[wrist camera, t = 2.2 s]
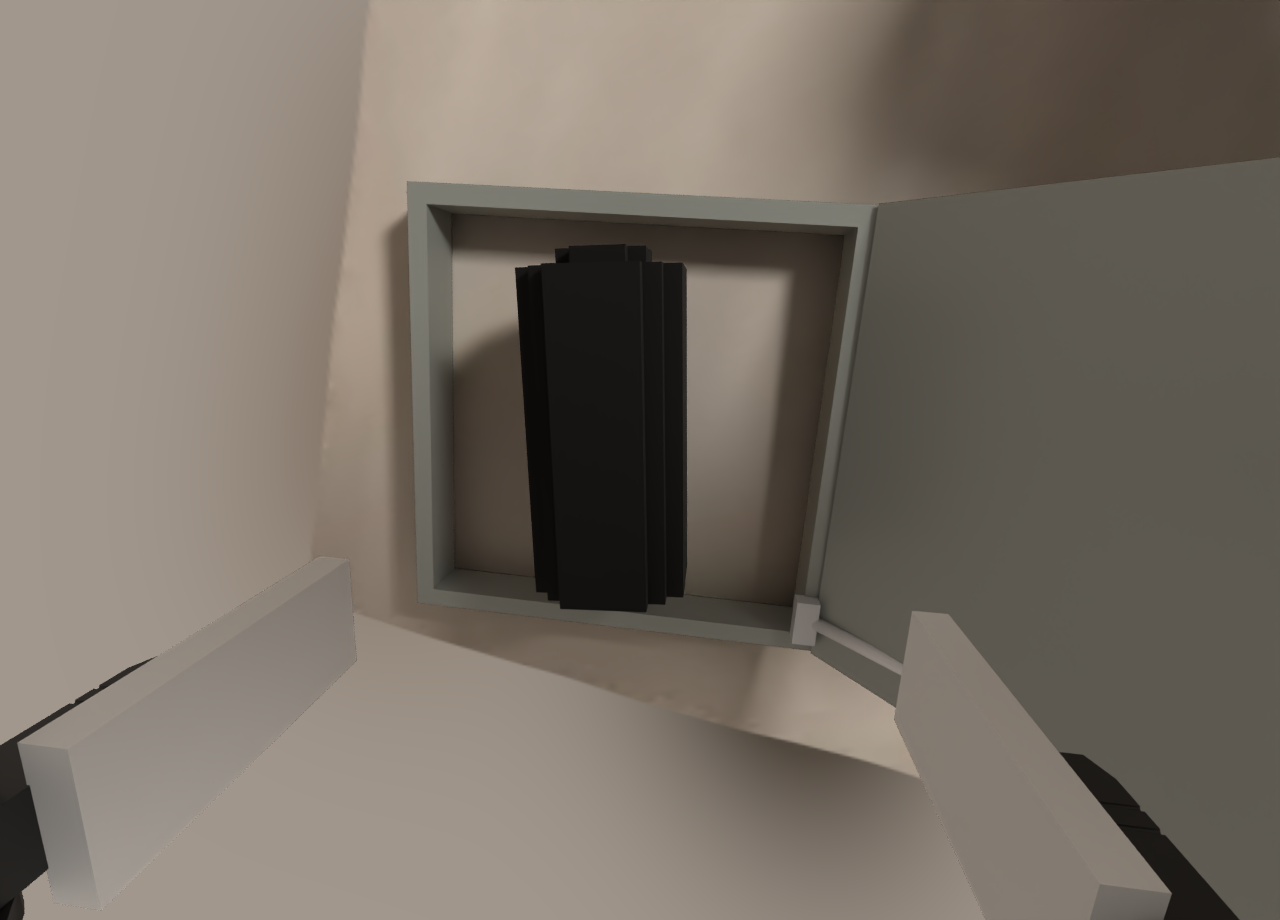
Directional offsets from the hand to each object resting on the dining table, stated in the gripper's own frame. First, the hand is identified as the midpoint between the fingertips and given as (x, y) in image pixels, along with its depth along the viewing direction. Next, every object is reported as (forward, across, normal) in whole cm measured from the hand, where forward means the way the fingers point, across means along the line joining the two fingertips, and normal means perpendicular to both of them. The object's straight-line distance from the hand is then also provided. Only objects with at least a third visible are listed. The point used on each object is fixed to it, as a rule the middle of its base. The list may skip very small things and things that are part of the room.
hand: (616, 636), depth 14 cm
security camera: (+22, -2, +1) cm, 22 cm away
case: (+21, +5, +1) cm, 22 cm away
